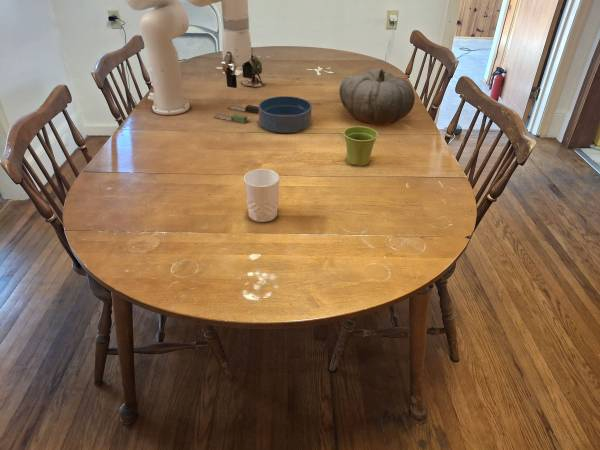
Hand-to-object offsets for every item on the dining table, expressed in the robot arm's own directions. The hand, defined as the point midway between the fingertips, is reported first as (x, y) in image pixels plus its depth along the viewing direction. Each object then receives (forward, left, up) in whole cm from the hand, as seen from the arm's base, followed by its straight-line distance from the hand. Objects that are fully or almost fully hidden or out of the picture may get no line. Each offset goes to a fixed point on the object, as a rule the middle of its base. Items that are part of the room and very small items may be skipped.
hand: (240, 82), depth 144 cm
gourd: (+38, +23, -13) cm, 47 cm away
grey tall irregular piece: (-14, +33, -13) cm, 38 cm away
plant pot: (+43, -10, -13) cm, 46 cm away
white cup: (+31, -45, -13) cm, 56 cm away
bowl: (+13, +5, -13) cm, 19 cm away
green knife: (-4, 0, -13) cm, 14 cm away
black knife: (-4, +9, -13) cm, 16 cm away
